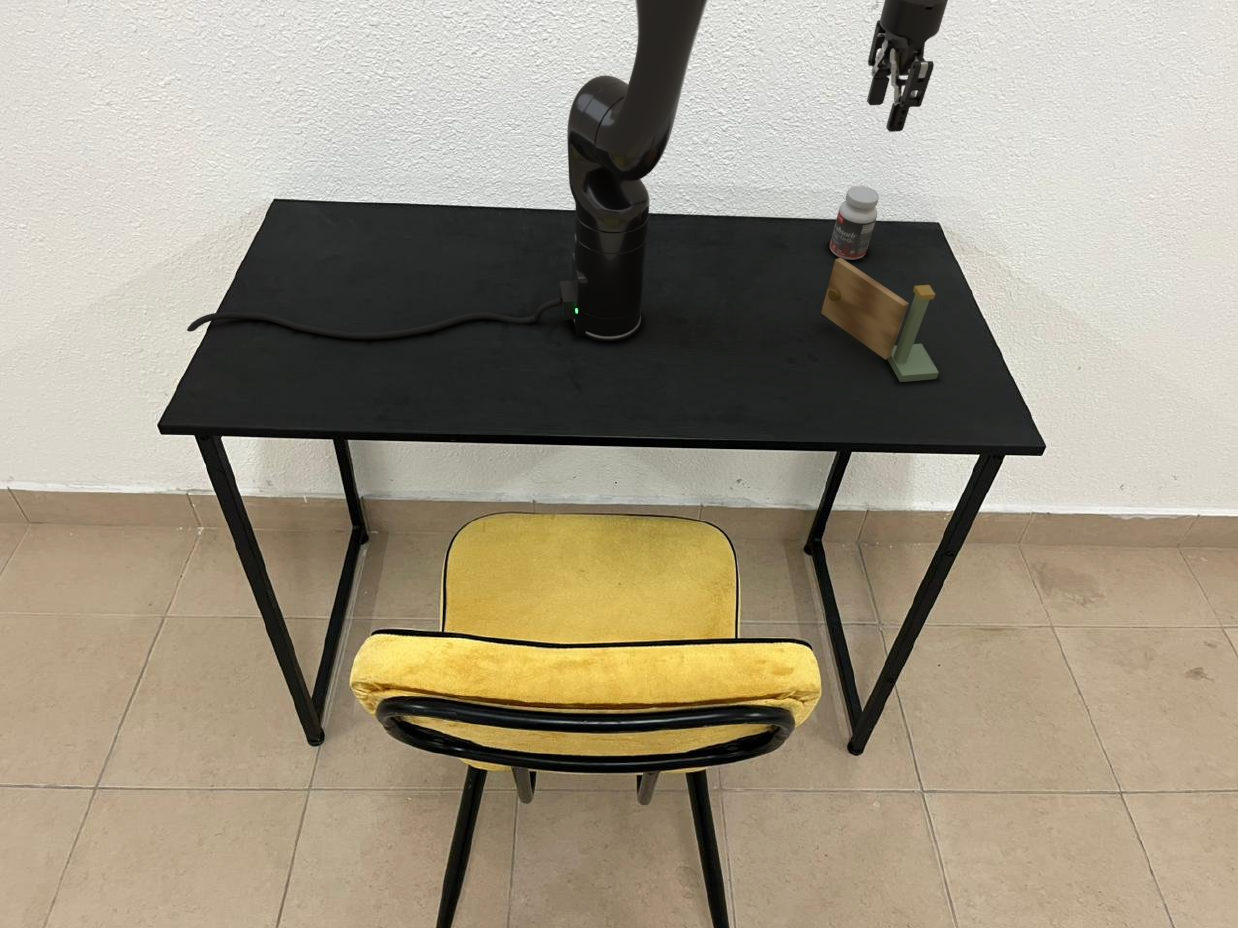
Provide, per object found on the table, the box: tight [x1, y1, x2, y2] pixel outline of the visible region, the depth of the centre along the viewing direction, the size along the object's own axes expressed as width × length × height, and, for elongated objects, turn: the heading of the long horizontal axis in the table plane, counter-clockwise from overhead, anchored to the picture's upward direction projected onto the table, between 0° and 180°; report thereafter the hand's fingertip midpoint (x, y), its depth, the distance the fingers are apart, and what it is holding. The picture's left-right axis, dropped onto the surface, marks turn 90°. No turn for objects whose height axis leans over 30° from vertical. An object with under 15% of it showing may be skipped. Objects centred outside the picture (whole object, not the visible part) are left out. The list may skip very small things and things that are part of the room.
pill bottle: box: [829, 185, 880, 261], centre depth 138 cm, size 6×6×10 cm
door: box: [820, 257, 910, 361], centre depth 122 cm, size 12×2×9 cm, turn 38°
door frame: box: [887, 284, 940, 383], centre depth 119 cm, size 5×6×13 cm
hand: (884, 116), depth 126 cm, fingers open, 7 cm apart
